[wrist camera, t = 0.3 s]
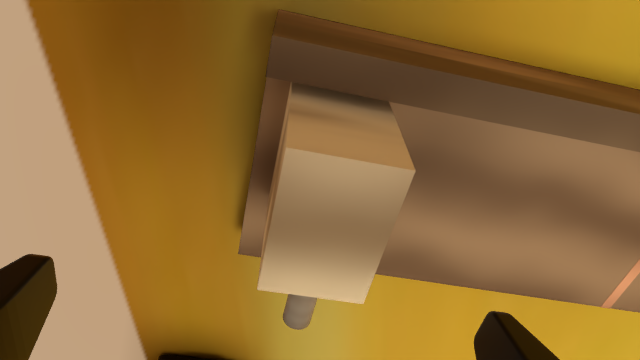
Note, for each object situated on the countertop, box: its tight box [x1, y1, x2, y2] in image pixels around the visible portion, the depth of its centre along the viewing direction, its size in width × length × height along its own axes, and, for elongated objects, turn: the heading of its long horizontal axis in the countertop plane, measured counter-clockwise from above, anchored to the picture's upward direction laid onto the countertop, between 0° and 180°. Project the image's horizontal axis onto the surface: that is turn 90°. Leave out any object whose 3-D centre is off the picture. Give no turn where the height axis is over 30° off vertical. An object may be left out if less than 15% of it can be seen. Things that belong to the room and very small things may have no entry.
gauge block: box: [257, 82, 416, 330], centre depth 18 cm, size 9×4×6 cm, turn 168°
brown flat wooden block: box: [238, 10, 640, 312], centre depth 22 cm, size 12×24×4 cm, turn 78°
